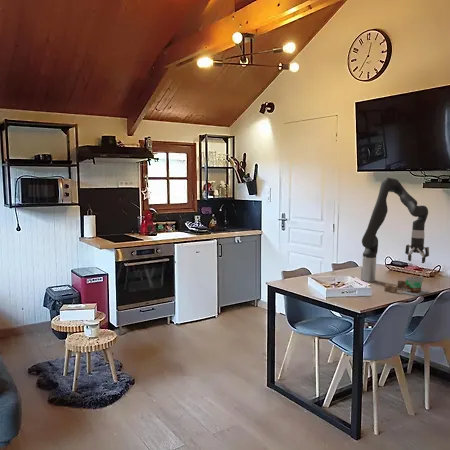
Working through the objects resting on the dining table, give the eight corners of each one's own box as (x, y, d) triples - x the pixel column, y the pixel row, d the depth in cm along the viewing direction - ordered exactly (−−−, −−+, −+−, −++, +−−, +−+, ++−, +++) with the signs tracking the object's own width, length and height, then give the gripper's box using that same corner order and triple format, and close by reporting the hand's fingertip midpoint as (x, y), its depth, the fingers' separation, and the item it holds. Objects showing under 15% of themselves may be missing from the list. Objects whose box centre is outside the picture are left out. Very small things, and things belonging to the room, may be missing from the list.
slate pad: (401, 293, 292) (401, 292, 292) (412, 289, 303) (412, 288, 303) (417, 296, 285) (417, 295, 285) (428, 292, 296) (428, 291, 296)
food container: (411, 293, 289) (411, 278, 288) (404, 291, 295) (405, 276, 294) (427, 292, 292) (427, 277, 291) (420, 290, 298) (421, 275, 297)
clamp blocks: (384, 290, 298) (384, 284, 298) (399, 285, 313) (399, 280, 312) (394, 293, 293) (394, 286, 293) (409, 287, 308) (409, 281, 307)
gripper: (404, 236, 293) (402, 261, 295) (426, 238, 282) (425, 264, 284) (409, 235, 298) (408, 259, 300) (431, 237, 288) (430, 263, 289)
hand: (416, 262), depth 292 cm, fingers open, 8 cm apart
